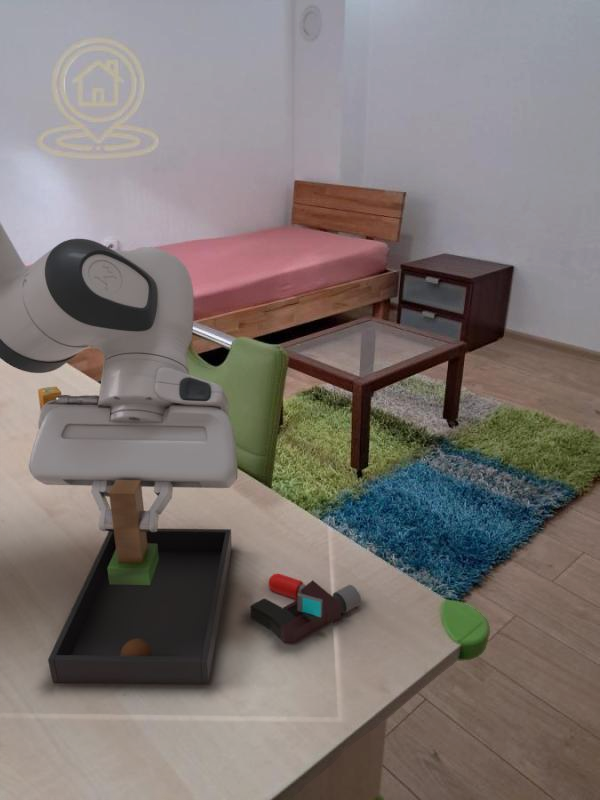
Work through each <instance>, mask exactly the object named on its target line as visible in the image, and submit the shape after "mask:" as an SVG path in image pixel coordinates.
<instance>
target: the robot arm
mask: <svg viewBox="0 0 600 800" xmlns="http://www.w3.org/2000/svg"><path fill="white" fill-rule="evenodd" d="M194 295H195V294H194V288H193V282H192V279H191V275H190V272H189V270H188V268H187V266H186V265H185V264H184V262H182V260H181V259H179V258H178V257H177V256H176V255H174V254H172V253H171V252H168V251H166V250H163V249H160V248H157V247H152V246H151V247H150V246H144V247H137V248H134V249H130V250H118V249H113V248H109V247H108V246H106V245H104V244H102V243H100V242H97V241H95V240H92V239H87V238H70V239H67V240H64V241H62V242H60V243H58V244H57V245H56V246H54V247H52V248H51V249H50V250H49V251H47V252H46V253H44V254H43V255H42V256H40V257H39V258H38V259H37V260H36V261H35V262H33V263H32V264H31V265H30V266H29V268H28V267H27V266H26V264H25V262H24V261H23V259H22V258H21V256H20V254H19V252H18V251H17V249H16V247H15V245H14V244H13V242H12V240H11V238H10V236H9V235H8V233H7V232H6V229H5V228H4V226H3V224H2V223H1V222H0V360H2V361H3V362H5V363H6V364H7V365H9V366H11V367H12V368H15V369H17V370H20V371H23V372H27V373H32V374H45V373H50V372H53V371H57V370H59V369H60V368H62V366H64V365H66V363H68V362H69V361H70V360H72V359H73V358H74V357H75V356H77V355H78V354H79V353H81V352H83V351H85V350H86V349H88V348H93V349H96V350H99V351H100V352H101V353H102V355H103V366H102V372H101V380H100V387H99V393H98V395H96V394H95V395H93V394H92V395H90V394H87V395H85V394H84V395H70V394H61V395H60V396H57V398H56V399H53V400H51V401H49V402H47V403H46V404H45V405H43V407H42V409H41V411H39V418H38V425H37V426H38V431H37V434H36V437H35V440H34V443H33V446H32V450H31V452H30V453H31V454H30V458H29V462H28V471H29V472H30V474H31V475H32V477H33V478H34V479H35V480H36V481H38V482H39V483H42V484H43V485H46V486H79V487H80V486H82V487H83V486H87V487H91V494H92V496H93V499H94V501H95V504H96V505H97V508H98V510H99V521H98V529H99V530H100V531H102V532H109V531H114V528H113V520H112V512H111V505H110V503H109V502H108V499H107V498H108V497H109V492H110V490H111V488H112V487H113V485H114V483H115V481H116V480H141V487H143V488H153V492H154V494H155V495H156V496H157V497H156V498H155V500H154V502H153V503H152V505H151V506H150V507H149V509H148V510H144V511H140V519H141V521H140V522H139V530H140V531H142V532H157V529H159V519H160V515H161V514H162V513H163V511H164V510H165V509H166V507H167V506H168V504H170V501H171V500H172V499H173V490H174V488H191V489H192V488H195V489H196V488H199V489H201V488H202V489H229V488H232V486H233V485H234V484H235V482H236V481H237V480H238V471H239V469H238V466H239V465H238V463H239V462H238V450H237V441H236V437H235V432H234V428H233V426H232V423H231V420H230V418H229V414H230V405H229V404H230V403H229V399H228V397H227V394H226V392H225V391H224V388H223V387H222V386H221V385H220V384H218V383H215V382H213V381H209V380H206V379H203V378H200V377H196V376H194V375H190V367H189V363H188V357H187V356H188V350H189V347H190V346H191V343H192V339H193V330H194V318H195V317H194V316H195V315H194V314H195V297H194ZM53 403H57V404H53ZM109 498H110V497H109Z"/></svg>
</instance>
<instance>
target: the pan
mask: <svg viewBox="0 0 600 800" xmlns="http://www.w3.org/2000/svg"><path fill="white" fill-rule="evenodd" d="M146 536H147V543H151V544H158V555H159V560H158V563H157V566H156V569H155V572H154V575H153V578H152V581H151V584H150V585H115V584H109V576H108V569H107V568H108V566H109V563H110V561H111V559H112V557H113V554H114V552H115V550H116V544H115V536H114V531H107V534H106V536H105V539H104V541H103V543H102V545H101V547H100V549H99V551H98V553H97V554H96V555H97V556H96V557H95V560H94V562H93V564H92V565H91V568H90V570H89V572H88V575H87V577H86V578H85V580H84V583H83V585H82V586H81V589H80V591H79V593H78V595H77V598H76V599H75V602H74V603H73V606H72V608H71V610H70V612H69V614H68V616H67V618H66V621H65V623H64V625H63V627H62V629H61V631H60V633H59V636H58V637H57V640H56V642H55V644H54V646H53V648H52V651H51V652H50V655H49V656H48V659H47V662H48V667H49V671H50V677H51V681H52V683H53V684H100V685H101V684H106V685H107V684H108V685H109V684H110V685H111V684H112V685H113V684H114V685H179V686H180V685H183V686H184V685H190V686H191V685H193V686H200V685H201V686H208V685H209V684H210V678H211V672H212V666H213V661H214V655H215V649H216V643H217V637H218V631H219V625H220V621H221V615H222V607H223V602H224V597H225V590H226V585H227V579H228V572H229V567H230V561H231V556H232V549H233V548H232V544H233V543H232V529H229V528H158V529H157V532H146ZM132 639H142V640H144V641H146V642H147V643H148V644H149V646H150V648H151V656H120V654H121V650H122V648H123V646H124V645H125V644H126V643H127V642H128V641H130V640H132Z"/></svg>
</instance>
